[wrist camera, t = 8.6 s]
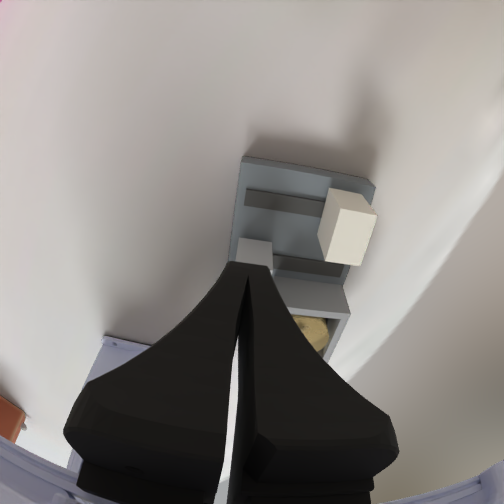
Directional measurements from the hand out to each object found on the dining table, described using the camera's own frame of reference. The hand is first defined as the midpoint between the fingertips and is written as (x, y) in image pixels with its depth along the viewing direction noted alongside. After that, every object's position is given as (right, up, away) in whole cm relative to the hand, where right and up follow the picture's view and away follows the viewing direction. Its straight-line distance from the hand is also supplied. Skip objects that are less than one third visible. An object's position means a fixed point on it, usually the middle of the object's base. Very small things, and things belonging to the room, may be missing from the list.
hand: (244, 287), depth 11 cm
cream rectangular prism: (+5, +3, +7) cm, 9 cm away
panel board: (+3, +1, +11) cm, 11 cm away
